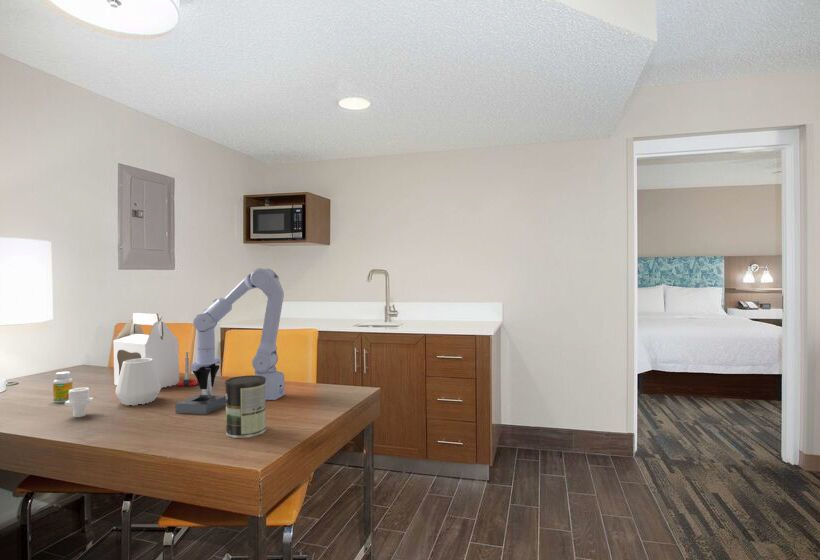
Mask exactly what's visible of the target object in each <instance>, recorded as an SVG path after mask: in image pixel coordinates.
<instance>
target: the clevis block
mask: <svg viewBox="0 0 820 560" xmlns="http://www.w3.org/2000/svg"><path fill="white" fill-rule="evenodd" d="M174 405H175V406H174V407H175V409H174V411H175V414H182V413H192V414H191V415H203V414H207V415H208V413H209V414H211V413H213V412H215V411H217V410H219V409H222V408H224V407H226V406H225V405H226V395H212V394H211V395H202V394H195V395H193V396H191V397H188V398H186V399H182V400H181V401H178V402H176V403H174ZM223 406H224V407H223ZM214 410H215V411H214ZM212 411H213V412H212ZM210 412H211V413H210Z"/></svg>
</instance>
